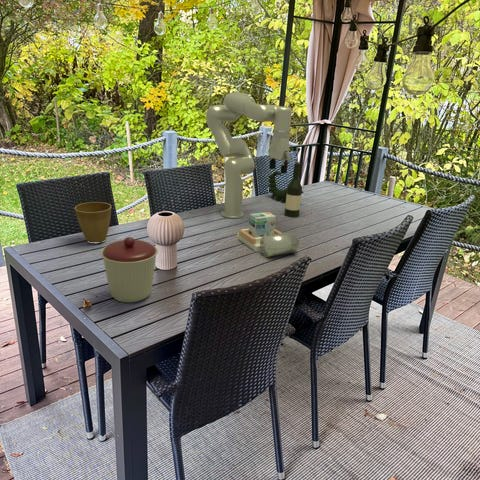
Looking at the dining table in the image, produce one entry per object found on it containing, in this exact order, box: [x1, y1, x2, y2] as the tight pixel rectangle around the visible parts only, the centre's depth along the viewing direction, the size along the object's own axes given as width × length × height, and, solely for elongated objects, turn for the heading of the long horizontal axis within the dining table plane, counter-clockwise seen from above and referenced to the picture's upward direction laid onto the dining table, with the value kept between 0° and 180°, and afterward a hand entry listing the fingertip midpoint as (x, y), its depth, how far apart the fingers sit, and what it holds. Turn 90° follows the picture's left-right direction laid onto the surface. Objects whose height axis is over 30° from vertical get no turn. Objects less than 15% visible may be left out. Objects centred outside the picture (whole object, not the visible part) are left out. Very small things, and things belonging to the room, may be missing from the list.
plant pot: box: [74, 201, 112, 242], centre depth 183 cm, size 15×15×16 cm
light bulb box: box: [248, 211, 277, 238], centre depth 194 cm, size 11×7×11 cm, turn 118°
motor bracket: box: [236, 227, 299, 258], centre depth 191 cm, size 28×18×9 cm, turn 29°
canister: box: [100, 236, 159, 303], centre depth 140 cm, size 18×18×21 cm
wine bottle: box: [284, 161, 303, 219], centre depth 232 cm, size 8×8×30 cm
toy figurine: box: [267, 170, 305, 203], centre depth 260 cm, size 9×19×25 cm
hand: (277, 171), depth 202 cm, fingers open, 9 cm apart
